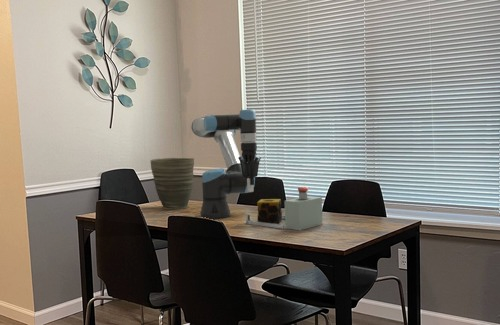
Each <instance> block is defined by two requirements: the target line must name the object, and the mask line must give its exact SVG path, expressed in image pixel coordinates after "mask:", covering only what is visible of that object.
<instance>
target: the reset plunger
mask: <svg viewBox="0 0 500 325" xmlns="http://www.w3.org/2000/svg"><path fill="white" fill-rule="evenodd" d="M297 191H298V198H299V200H307V196H308V191H309V187H307V186H300V187H298V188H297Z"/></svg>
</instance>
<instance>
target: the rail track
mask: <svg viewBox="0 0 500 325" xmlns="http://www.w3.org/2000/svg"><path fill="white" fill-rule="evenodd" d="M282 220H285V214H282ZM245 222H246V223H245V224H247V225H254V226H259V227H260V226H262V227H266V228H273V229H281V230H284V229H286V228H285V224H280V223H278V224H276V223H266V222H259V221H258V220H252V219H251V216H250V214H245Z"/></svg>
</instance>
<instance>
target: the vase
mask: <svg viewBox="0 0 500 325" xmlns="http://www.w3.org/2000/svg"><path fill="white" fill-rule="evenodd" d="M194 164H195V158H193V157H191V158H190V157H188V158H186V157H165V158H154V159H151V160H150V168H151V173H152V176H153V183H154V187H155V190H156V193H157V197H158V199H159V200H160V203H161V205H162V207H161V209H162V210H166V211H167V210H173V211H175V210H182V209H188V208H189V201H190V198H191V194H192V190H193V184H194Z"/></svg>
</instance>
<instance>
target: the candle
mask: <svg viewBox="0 0 500 325" xmlns="http://www.w3.org/2000/svg"><path fill="white" fill-rule="evenodd" d="M256 203H257V204H256V205H257V221H259V222H266V223H274V224H280V223H281V222H282V220H283V219H282V215H283V211H282V199H281V198H267V199H266V198H265V199H264V198H263V199H262V198H261V199H259V200H258V201H257V202H256Z"/></svg>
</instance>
